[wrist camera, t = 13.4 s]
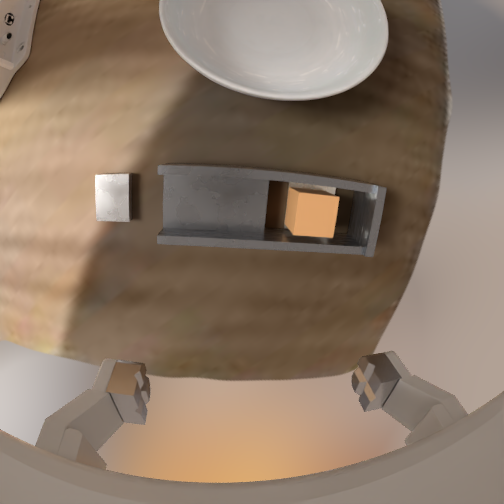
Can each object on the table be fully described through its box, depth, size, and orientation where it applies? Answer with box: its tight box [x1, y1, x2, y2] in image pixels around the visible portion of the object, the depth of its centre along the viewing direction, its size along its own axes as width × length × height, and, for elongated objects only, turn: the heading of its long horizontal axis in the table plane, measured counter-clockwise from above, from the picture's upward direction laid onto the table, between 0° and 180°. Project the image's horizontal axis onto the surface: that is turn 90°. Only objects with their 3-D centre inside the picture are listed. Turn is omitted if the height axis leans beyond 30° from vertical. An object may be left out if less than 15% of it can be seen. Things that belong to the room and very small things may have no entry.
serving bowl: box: [159, 0, 389, 101], centre depth 18 cm, size 21×21×7 cm
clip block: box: [285, 187, 340, 238], centre depth 27 cm, size 4×4×4 cm
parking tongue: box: [95, 173, 132, 222], centre depth 26 cm, size 5×4×1 cm
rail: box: [157, 163, 387, 257], centre depth 26 cm, size 7×21×5 cm, turn 85°
